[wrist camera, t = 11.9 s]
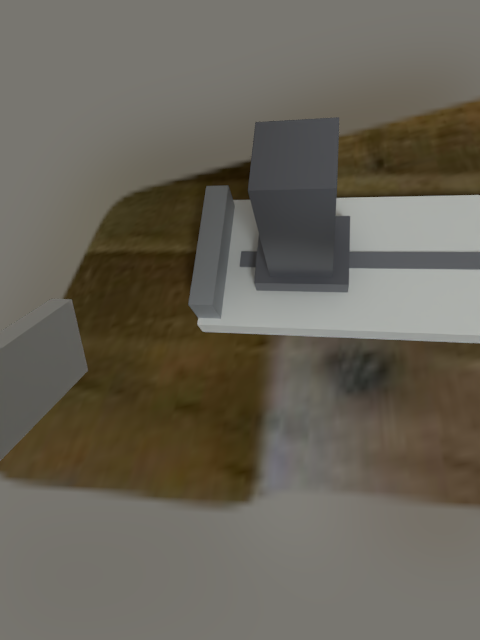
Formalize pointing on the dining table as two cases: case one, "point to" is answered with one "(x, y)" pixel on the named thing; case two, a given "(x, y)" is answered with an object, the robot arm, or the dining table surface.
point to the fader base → (350, 273)
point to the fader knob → (298, 207)
